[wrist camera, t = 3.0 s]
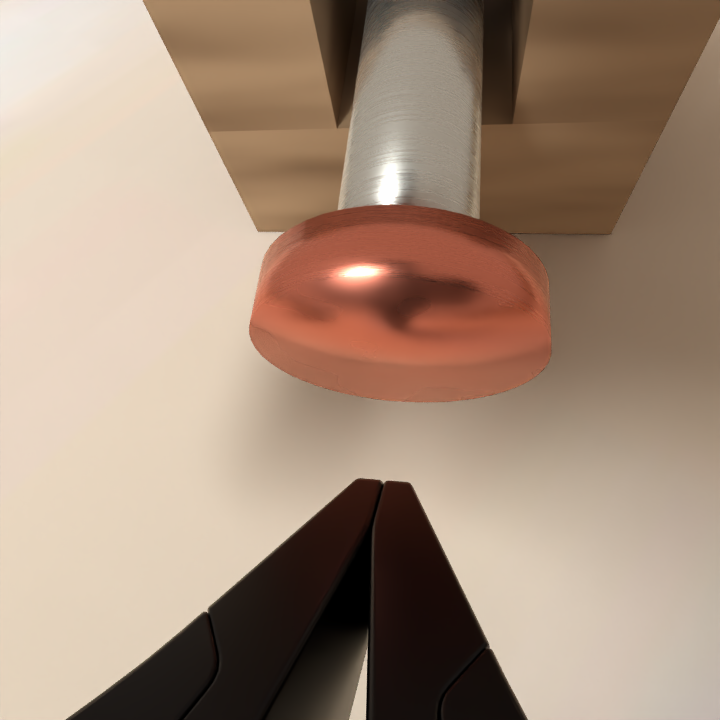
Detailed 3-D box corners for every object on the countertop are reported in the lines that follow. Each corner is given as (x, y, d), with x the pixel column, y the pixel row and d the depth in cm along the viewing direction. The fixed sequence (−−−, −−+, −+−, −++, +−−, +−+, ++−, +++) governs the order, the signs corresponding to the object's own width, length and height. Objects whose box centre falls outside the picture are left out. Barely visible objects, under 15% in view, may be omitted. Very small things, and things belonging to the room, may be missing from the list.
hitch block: (610, 233, 17) (791, -125, 8) (258, 231, 19) (110, -63, 10) (594, 60, 20) (715, -336, 11) (291, 73, 22) (198, -259, 13)
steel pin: (524, 408, 11) (589, 282, 7) (291, 395, 12) (199, 273, 7) (517, -56, 17) (548, -296, 13) (361, -44, 18) (335, -265, 13)
